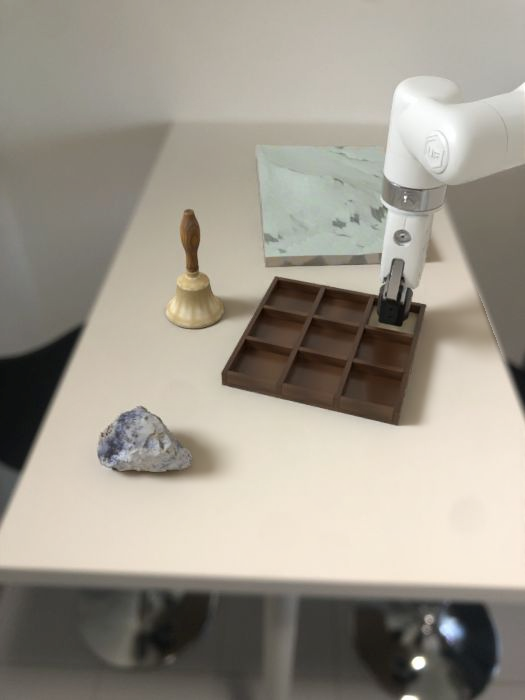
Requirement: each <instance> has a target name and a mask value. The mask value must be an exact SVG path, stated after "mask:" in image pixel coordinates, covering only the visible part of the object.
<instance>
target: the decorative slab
mask: <svg viewBox="0 0 525 700" xmlns="http://www.w3.org/2000/svg"><path fill="white" fill-rule="evenodd" d="M385 156H386V149H385V147H384V145H373V146H372V145H371V146H370V145H369V146H367V145H365V146H360V145H347V146H346V145H345V146H338V145H337V146H328V145H327V146H320V145H273V144H258V143H256V144H255V166H256V179H257V189H258V190H257V191H258V199H259V200H258V201H259V209H260V210H259V211H260V223H261V233H262V245H263V257H264V267H265V268H269V267H271V268H272V267H302V266H304V267H305V266H306V267H307V266H340V265H341V266H342V265H345V266H346V265H347V266H348V265H372V264H373V265H381V258H382V250H383V242H384V234H385V227H386V221H387V214H388V208H387V207H385V206H384V205H383V204H382V202H381V200H380V195H381V188H382V180H383V172H384V164H385Z"/></svg>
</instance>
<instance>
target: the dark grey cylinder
mask: <svg viewBox="0 0 525 700" xmlns="http://www.w3.org/2000/svg"><path fill="white" fill-rule="evenodd" d="M384 287H385V283H383V284H382V285H381V286H380V287H379V291H378V295H379V297H378V304H377V315H378V316H379V311H380V305H381V298H382V296H383V293H384ZM399 292H401V293H402V286H399ZM413 296H414V291H413V289H412V288H408V287H407V291H406V296H405V300H406V301H407V303H406V308H405V314H404V320H403V321H405V320H407V319H408V317H409V314H410V309H411V303H412V302H413Z"/></svg>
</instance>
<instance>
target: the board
mask: <svg viewBox="0 0 525 700" xmlns="http://www.w3.org/2000/svg"><path fill="white" fill-rule="evenodd" d="M378 297H379V294H373V293H368V292H362V291H358V290H352V289H346V288H340V287H336V286H330V285H327V284H326V285H325V284H321V283H315V282H310V281H309V282H308V281H303V280H299V279H293V278H287V277H284V276H277V275H275V276H274V278H273V279H272V281H271V283H270V284H269V285H268V288H267V290H266V291H265V293H264V295H263V297H262V299H261V300H260V302H259V305H258V306H257V308H256V310H255V311H254V313H253V315H252V317H251V318H250V320H249V322H248V324H247V326H246V327H245V329H244V331H243V333H242V335H241V336H240V338H239V340H238V342H237V344H236V345H235V346H234V349H233V351H232V353H231V355H230V356H229V358H228V360H227V362H226V363H225V365H224V367H223V369H221V370H222V371H221V372H220V375H221V376H220V377H221V385H222V386H226V387H231V388H234V389H238V390H243V391H248V392H251V393H255V394H260V395H264V396H269V397H273V398H277V399H282V400H286V401H291V402H293V403H299V404H304V405H306V406H307V405H308V406H311V407H316V408H319V409H325V410H328V411H334V412H338V413H342V414H346V415H351V416H355V417H358V418H363V419H367V420H372V421H377V422H380V423H385V424H389V425H393V426H398V425H399V421H400V417H401V414H402V410H403V409H402V408H403V405H404V401H405V396H406V392H407V388H408V384H409V381H410V376H411V371H412V368H413V364H414V360H415V355H416V351H417V349H418V348H417V347H418V343H419V340H420V335H421V331H422V327H423V323H424V320H425V319H424V318H425V314H426V309H427V303H421V302H416V301H412V303H411V309H410V314H409V317H408V319H407V320H405V321H403V324H402V326H401V327H398V326H393V325H388V324H383V323H380V322H379V321H378V318H379V316H378V315H377V304H378Z"/></svg>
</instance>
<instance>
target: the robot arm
mask: <svg viewBox="0 0 525 700" xmlns="http://www.w3.org/2000/svg"><path fill="white" fill-rule="evenodd" d="M393 92H394V93H393V96H392V103H391V111H390V117H389V118H390V119H389V125H388V131H387V132H388V134H387V141H386V149H385V152H386V156H385V164H384V172H383V180H382V188H381V195H380V200H381V202H382V204H383V205H384V206H385V207H387V208H388V214H387V221H386V227H385V234H384V242H383V250H382V258H381V264H380V269H379V281H380V282H381V283H382V284H385V287H384V293H383V296H382V298H381V305H380V311H379V318H378V321H379V322H380V323H383V324H388V325H393V326H398V327H401V326H402V324H403V320H404V314H405V308H406V303H407V301H406V300H405V296H406V291H407V287H408V288H411V289H412V290H416V289H417V288H419V286H420V284H421V280H422V276H423V272H424V269H425V265H426V262H427V257H428V252H429V245H430V239H431V234H432V229H433V223H434V217H435V214H436V213H438V212H439V211H441V210H442V209H443V207H444V205H445V201H446V196H447V191H448V186H449V185H450V186H457V185H459V186H460V185H464V184H468V183H470V182H473V181H477V180H479V179H483V178H486V177H489V176H491V175H494V174H497V173H500V172H504V171H507V170H509V169H512V168H513V169H514V168H516V167H520V166H523V165H525V81H524V82H523V83H522V84H521V85H519V86H518V87H516V88H515V89H513V90H512V91H509V92H506V93H501V94H497V95H494V96H490V97H485V98H483V99H479V100H474V101H470V102H465V94H464V91H463V89H462V87H461V86H460V85H459V84H458V83H457V82H455V81H454V80H451V79H449V78H445V77H442V76H437V75H417V76H412V77H408V78H405V79H403V80H402V81H401V82H400V83H399V84H398V85H397V86H396V88H395V90H394V91H393ZM399 286H402V293H401V292H399Z"/></svg>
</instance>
